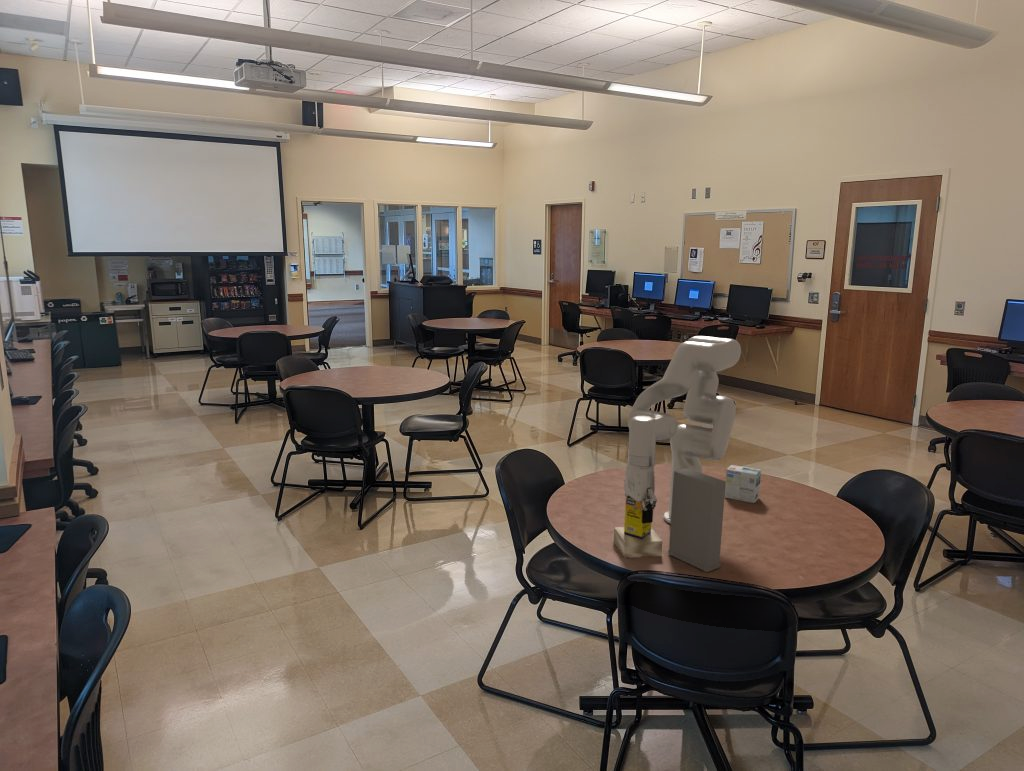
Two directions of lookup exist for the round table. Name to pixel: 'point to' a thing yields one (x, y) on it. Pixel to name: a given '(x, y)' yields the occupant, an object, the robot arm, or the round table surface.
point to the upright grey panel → (697, 519)
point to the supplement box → (635, 519)
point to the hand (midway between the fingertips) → (638, 516)
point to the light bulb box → (742, 483)
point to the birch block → (637, 544)
